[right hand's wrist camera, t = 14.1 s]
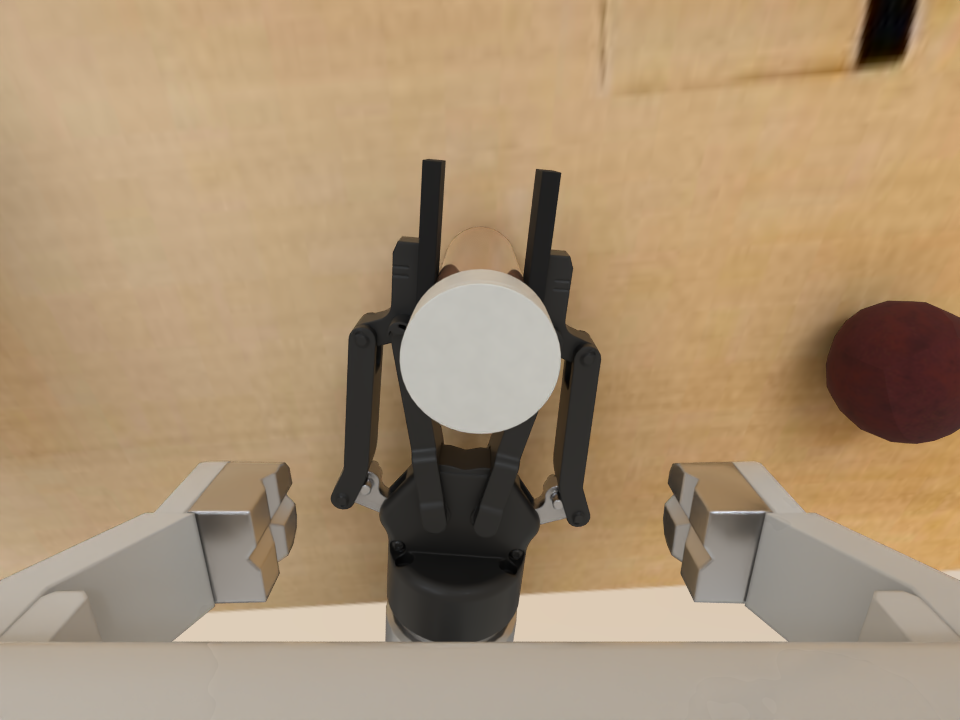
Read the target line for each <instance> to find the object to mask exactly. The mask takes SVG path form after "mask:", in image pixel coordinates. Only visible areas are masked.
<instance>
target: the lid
mask: <svg viewBox="0 0 960 720" xmlns="http://www.w3.org/2000/svg"><path fill="white" fill-rule="evenodd" d="M560 366H561V351H560V344H559V341H558V337H557V334H556V331H555V329H554V327H553V324H552V322H551V319H550V317H549V315H548V312H547V310H546V308H545V306H544V304H543V303H542V301H541V300H540V298H539V297H538V296H537V295H536V293H535V292H534V291H533V290H532V289H531V288H529V287H528V286H527V285H526V284H524V283H523V282H522V281H520V280H519V279H517V278H515V277H513V276H511V275H508V274H505V273H502V272H499V271H494V270H486V269H474V270H467V271H461V272H458V273H455V274H452V275H450V276H448V277H446V278H444V279H442V280H441V281H439V282H438V283H436V284H435V285H434V286H432V287H431V288H430V289H429V290H428V291H427V292H426V293H425V294H424V295H423V296H422V298H421V299H420V301H419V302H418V304H417V305H416V307H415V309H414V311H413V313H412V316H411V318H410V321H409V323H408V325H407V328H406V330H405V333H404V336H403V339H402V343H401V348H400V369H401V374H402V378H403V381H404V384H405V386H406V389H407V391H408V392H409V394H410V396H411V398H412V399H413V400H414V402H415V403H416V404H417V406H418V407H419V408H420V409H421V410H422V411H423V412H424V413H425V414H427V415H428V416H429V417H430V418H432V419H433V420H435V421H436V422H438V423H440V424H442V425H444V426H446V427H448V428H451V429H454V430H457V431H461V432H466V433H474V434H487V433H495V432H500V431H504V430H507V429H510V428H512V427H515V426H517V425H519V424H521V423H523V422H524V421H526V420H527V419H529V418H530V417H532V416H533V415H534V414H535V413H536V412H537V411H538V410H539V409H540V408H542V406H543V405H544V404H545V403H546V401H547V400H548V399H549V397H550V395H551V394H552V392H553V390H554V388H555V385H556V383H557V380H558V376H559V373H560Z"/></svg>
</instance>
